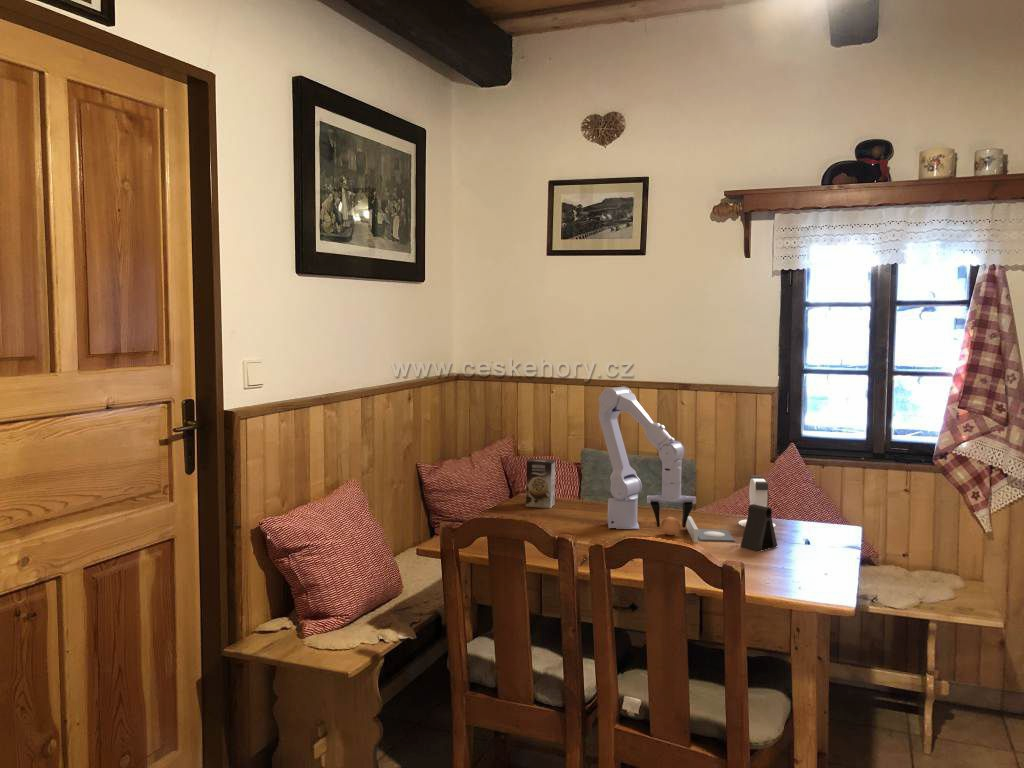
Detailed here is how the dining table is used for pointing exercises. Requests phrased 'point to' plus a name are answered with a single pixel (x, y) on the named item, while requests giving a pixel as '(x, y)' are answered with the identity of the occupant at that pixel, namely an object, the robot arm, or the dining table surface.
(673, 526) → the ball
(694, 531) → the fence
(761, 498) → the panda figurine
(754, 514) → the phone stand
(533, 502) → the coffee box
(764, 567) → the dining table surface
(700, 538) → the mat
